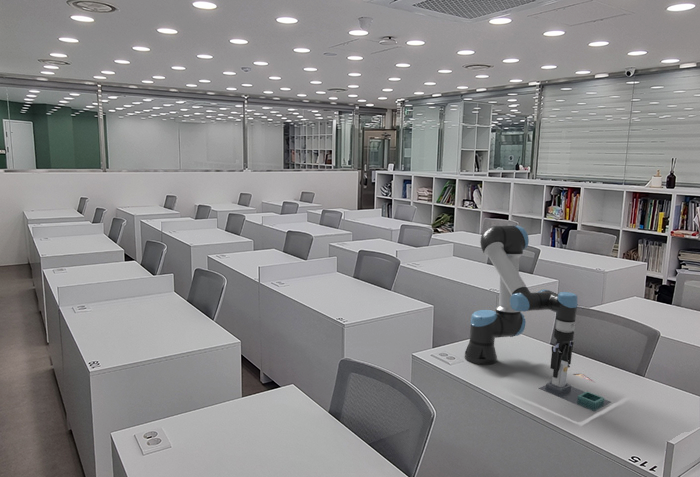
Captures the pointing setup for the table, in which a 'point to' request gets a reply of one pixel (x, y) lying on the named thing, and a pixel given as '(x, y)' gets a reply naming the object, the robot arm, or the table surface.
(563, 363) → the plug
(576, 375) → the smartphone
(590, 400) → the panel
